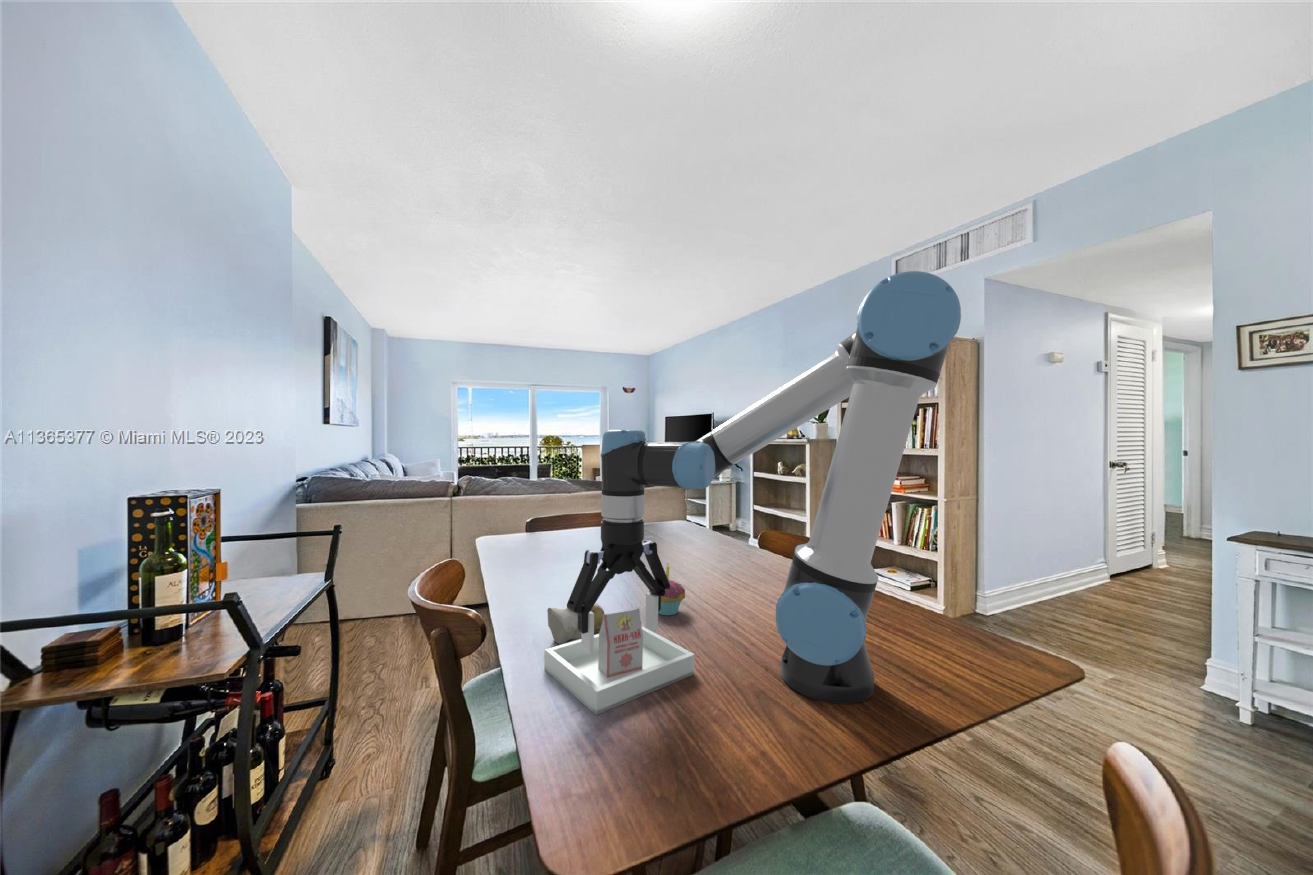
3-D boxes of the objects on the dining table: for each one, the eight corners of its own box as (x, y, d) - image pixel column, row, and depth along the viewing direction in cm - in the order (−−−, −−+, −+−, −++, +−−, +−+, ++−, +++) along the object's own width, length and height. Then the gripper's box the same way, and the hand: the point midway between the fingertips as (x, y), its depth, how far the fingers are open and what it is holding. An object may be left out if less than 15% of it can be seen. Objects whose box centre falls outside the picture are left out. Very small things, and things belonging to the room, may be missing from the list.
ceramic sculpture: (542, 591, 99) (610, 586, 106) (538, 633, 99) (607, 626, 106) (555, 609, 89) (629, 603, 96) (551, 656, 89) (625, 647, 96)
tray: (694, 674, 84) (694, 654, 84) (596, 715, 71) (596, 691, 71) (635, 640, 97) (636, 622, 97) (544, 669, 84) (544, 649, 84)
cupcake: (685, 619, 108) (687, 566, 108) (648, 618, 109) (649, 565, 108) (684, 605, 117) (685, 556, 117) (649, 604, 117) (650, 555, 117)
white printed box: (598, 667, 84) (599, 611, 84) (632, 659, 88) (634, 604, 87) (606, 677, 81) (608, 618, 81) (642, 668, 84) (643, 611, 84)
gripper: (663, 508, 95) (662, 616, 95) (546, 522, 79) (545, 652, 79) (689, 514, 89) (688, 629, 89) (569, 530, 73) (568, 669, 73)
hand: (621, 640), depth 84 cm, fingers open, 13 cm apart
